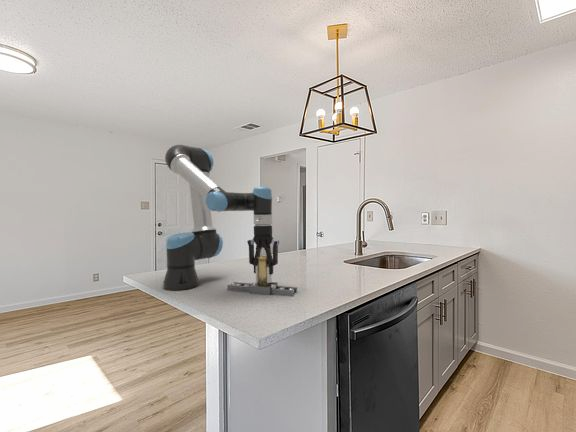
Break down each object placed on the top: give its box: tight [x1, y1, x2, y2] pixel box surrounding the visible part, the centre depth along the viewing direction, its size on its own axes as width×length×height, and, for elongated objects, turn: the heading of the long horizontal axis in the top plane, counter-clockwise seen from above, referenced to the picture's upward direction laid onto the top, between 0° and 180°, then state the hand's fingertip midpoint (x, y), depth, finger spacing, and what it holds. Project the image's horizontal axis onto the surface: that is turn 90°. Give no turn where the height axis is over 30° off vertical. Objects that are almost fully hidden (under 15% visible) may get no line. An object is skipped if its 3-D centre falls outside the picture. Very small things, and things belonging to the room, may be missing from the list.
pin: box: [257, 254, 269, 287], centre depth 126 cm, size 5×5×13 cm
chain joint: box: [226, 281, 298, 297], centre depth 126 cm, size 29×8×3 cm, turn 70°
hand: (263, 281), depth 126 cm, fingers closed on pin, 4 cm apart
